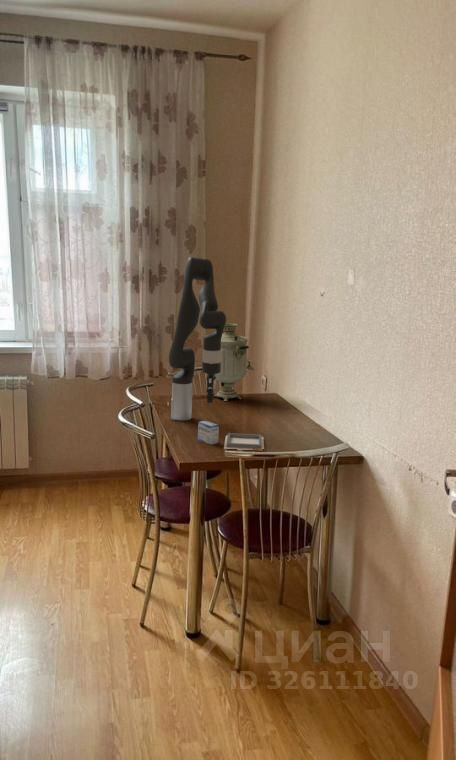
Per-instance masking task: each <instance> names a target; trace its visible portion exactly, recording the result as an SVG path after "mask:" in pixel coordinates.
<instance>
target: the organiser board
mask: <svg viewBox="0 0 456 760" xmlns="http://www.w3.org/2000/svg"><path fill="white" fill-rule="evenodd" d="M264 441H265V439H264V436H262V434H254V433H233V432H232V433H231V432H228V433H227V435H225V440H224V444H223V445H224V447H223V450H226V449H237V450H236V451H242V450H253V449H252V448H258V449H264V450H265V445H264V444H265V442H264Z"/></svg>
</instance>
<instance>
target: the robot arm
mask: <svg viewBox="0 0 456 760" xmlns="http://www.w3.org/2000/svg"><path fill="white" fill-rule="evenodd" d="M183 277H184V279H183V285H182V293H181V300H180V303H179V308H178V314H177V319H176V320H177V321H176V325H175V330H174V335H173V339H172V343H171V347H170V350H169V353H168V363H169V365H170V368H172V369H180V370H179V371H178V372H177V373H175V374H174V375H172V378H171V381H172V382H171V398H170V400H171V401H170V404H171V405H170V420H174V421H189V420H191V419H192V412H193V411H192V409H193V407H192V405H193V379H194V376H195V364H196V356H195V351H194V350H193V348H191V347H187V346H186V347H185V345H186V342H187V339H188V338H189V337H190V335H191V334H192V333H193V331H194V330H195V329H196V327H197V326H198V322H199V326H201V328H202V329H205V330H214V332H213V333H209V334H206V335H204V336H203V343H202V344H203V345H202V346H203V348H202V358H201V360H202V361H201V364H202V365H201V372H202V373H204V374H207V375H206V378H205V382H206V383H205V386H206V387H205V388H206V395H207V396H206V397H207V398H206V402H207V403H209V404H212V403H213V402H214V401H213V400H214V398H213V397H214V395H215V388H216V385H217V384H216V383H217V382H216V381H217V380H216V376H215V374H218V373H220V372H221V338H222V333H223V330H224V327H225V324H226V323H227V315H226V314H225V312H224V311H221V310H218V309H219V305H218V304H219V303H218V301H217V297H216V291H215V282H214V281H215V277H214V266H213V263H212V261H211V260H210V259H207V258H202V257H195V256H190V257H188V259H187V260H186V263H185V270H184V276H183ZM194 280H196V281H204V282H205V283H204V285H203V286H202V287H201V289H200V290H199V293H198V300H197V297H196V294H195V291H194V287H193V281H194Z"/></svg>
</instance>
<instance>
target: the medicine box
mask: <svg viewBox="0 0 456 760" xmlns="http://www.w3.org/2000/svg"><path fill="white" fill-rule="evenodd" d="M197 424H198V425H197V426H198V427H197V441H199V442H202V443H204V444H208V445H210V446H212V445H215V444H218V443H219V433H220V431H219V428H220V425H219V424H218V423H214V422H211V421H208V420H201V421H199V422H198V423H197Z"/></svg>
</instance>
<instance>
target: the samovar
mask: <svg viewBox="0 0 456 760" xmlns="http://www.w3.org/2000/svg"><path fill="white" fill-rule="evenodd" d="M237 326H238V324H237V323H231V322H230V323H227V322H226V324H225V327H224V330H223V333H222V338H221V372H220V373H218V374H215V376H216V381H218V382H220V386H221V387H222V389H220V390H219V391H217V393H216V394H214V396H217V397H219V398H222V399H223V402H224V401H228V400H229V399H230V398H231V399H233V398H237V399H239V400H242V397H240V396H239V395H238V392H236V390H235V389H233V388H234V387H235V383H237V382H239V381H241V380H243V379H244V378H245V377H246V375H247V371H248V370H251V371H252V370H255V369H254V367H253V366H252V365H251V362H254V361H253V359H250V358H249V359H248V350H249V348H250V346H249V345H247V344H248V340H249V339H248V337H246V336H243V335H239V334H238V333H236V329H237ZM247 364H248V365H247ZM247 369H248V370H247ZM228 402H229V401H228Z"/></svg>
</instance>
